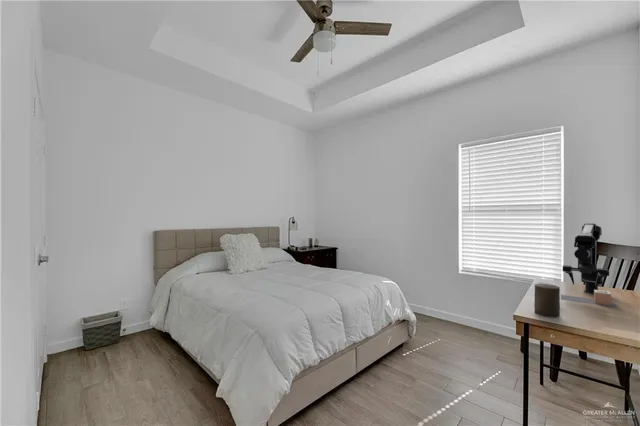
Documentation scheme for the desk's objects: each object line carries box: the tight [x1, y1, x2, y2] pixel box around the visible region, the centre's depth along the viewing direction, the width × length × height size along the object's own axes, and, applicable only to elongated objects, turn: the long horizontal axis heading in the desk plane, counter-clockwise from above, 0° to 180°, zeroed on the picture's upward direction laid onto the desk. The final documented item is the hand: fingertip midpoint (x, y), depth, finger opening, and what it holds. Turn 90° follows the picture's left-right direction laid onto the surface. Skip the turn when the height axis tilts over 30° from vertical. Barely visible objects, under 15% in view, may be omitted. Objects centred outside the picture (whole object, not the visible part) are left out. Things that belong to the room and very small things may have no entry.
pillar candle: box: [533, 283, 561, 318], centre depth 140 cm, size 10×10×15 cm
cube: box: [593, 289, 612, 305], centre depth 154 cm, size 6×6×6 cm
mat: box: [560, 294, 618, 309], centre depth 158 cm, size 12×22×1 cm, turn 50°
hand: (584, 285), depth 159 cm, fingers open, 9 cm apart
